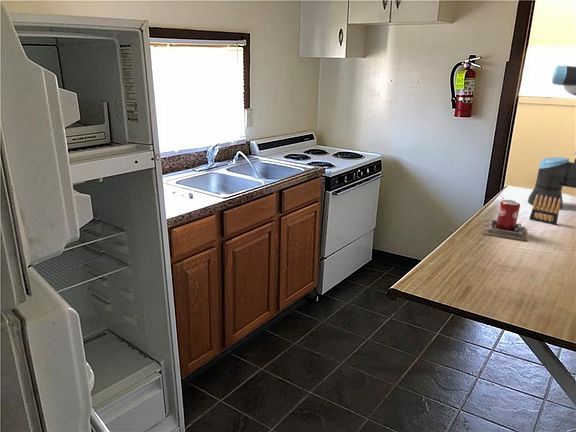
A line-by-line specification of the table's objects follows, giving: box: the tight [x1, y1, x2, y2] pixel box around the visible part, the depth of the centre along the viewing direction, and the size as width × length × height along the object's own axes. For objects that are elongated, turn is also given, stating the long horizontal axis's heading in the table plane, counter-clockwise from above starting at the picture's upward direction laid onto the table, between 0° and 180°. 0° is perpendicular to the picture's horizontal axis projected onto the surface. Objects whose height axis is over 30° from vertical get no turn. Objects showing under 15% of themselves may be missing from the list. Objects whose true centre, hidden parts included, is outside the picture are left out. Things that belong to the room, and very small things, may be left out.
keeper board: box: [482, 218, 528, 243], centre depth 197 cm, size 16×16×2 cm
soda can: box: [496, 199, 521, 232], centre depth 195 cm, size 7×7×12 cm
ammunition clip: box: [528, 194, 561, 226], centre depth 209 cm, size 11×2×12 cm, turn 54°
